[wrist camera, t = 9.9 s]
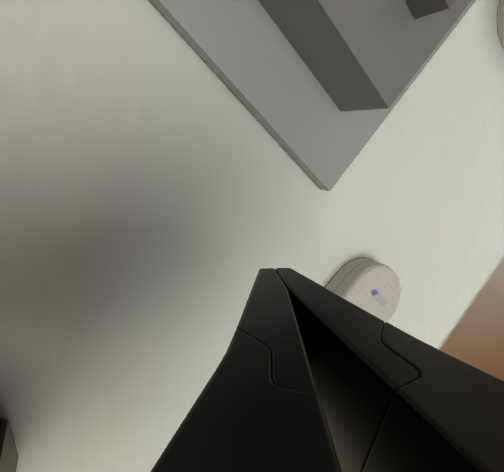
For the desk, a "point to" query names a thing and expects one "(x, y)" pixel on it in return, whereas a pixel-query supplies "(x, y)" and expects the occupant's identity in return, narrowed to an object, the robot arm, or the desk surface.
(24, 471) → the desk surface
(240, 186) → the desk surface
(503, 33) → the coffee cup
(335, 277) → the electronic device
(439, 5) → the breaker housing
